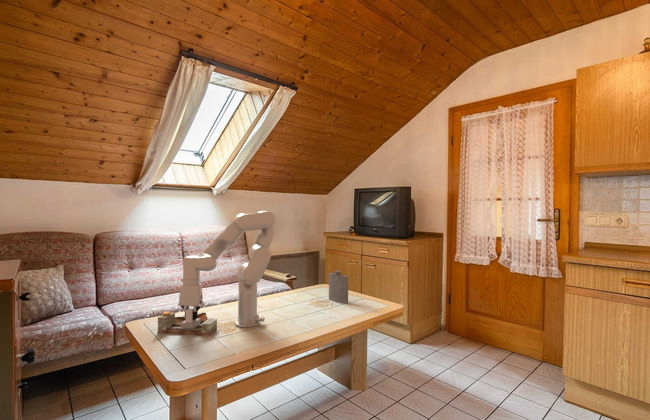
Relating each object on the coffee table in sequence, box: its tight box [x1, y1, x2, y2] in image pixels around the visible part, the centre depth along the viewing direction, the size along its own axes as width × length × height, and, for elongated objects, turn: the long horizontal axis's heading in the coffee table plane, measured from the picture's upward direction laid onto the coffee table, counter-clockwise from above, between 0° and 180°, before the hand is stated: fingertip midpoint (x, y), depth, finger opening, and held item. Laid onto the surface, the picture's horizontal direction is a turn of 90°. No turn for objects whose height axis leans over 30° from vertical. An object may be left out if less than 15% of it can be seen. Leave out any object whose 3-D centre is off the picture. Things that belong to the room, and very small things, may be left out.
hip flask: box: [328, 270, 349, 305], centre depth 218 cm, size 16×4×20 cm, turn 46°
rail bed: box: [157, 311, 218, 337], centre depth 163 cm, size 26×8×8 cm, turn 84°
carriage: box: [181, 306, 201, 329], centre depth 163 cm, size 6×7×8 cm
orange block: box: [162, 311, 171, 316], centre depth 164 cm, size 3×3×5 cm
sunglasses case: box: [175, 312, 209, 325], centre depth 175 cm, size 18×7×7 cm
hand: (191, 318), depth 163 cm, fingers closed on carriage, 3 cm apart
